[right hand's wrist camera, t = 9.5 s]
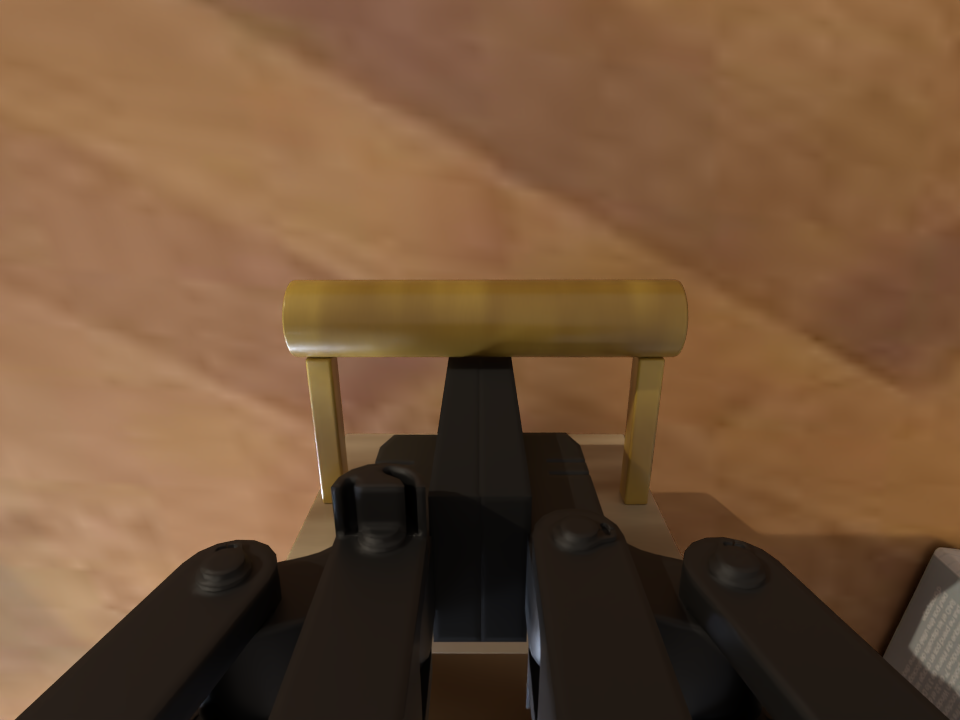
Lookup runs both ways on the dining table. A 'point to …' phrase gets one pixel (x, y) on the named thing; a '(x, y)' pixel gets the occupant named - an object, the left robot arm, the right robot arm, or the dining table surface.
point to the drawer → (490, 333)
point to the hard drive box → (932, 634)
